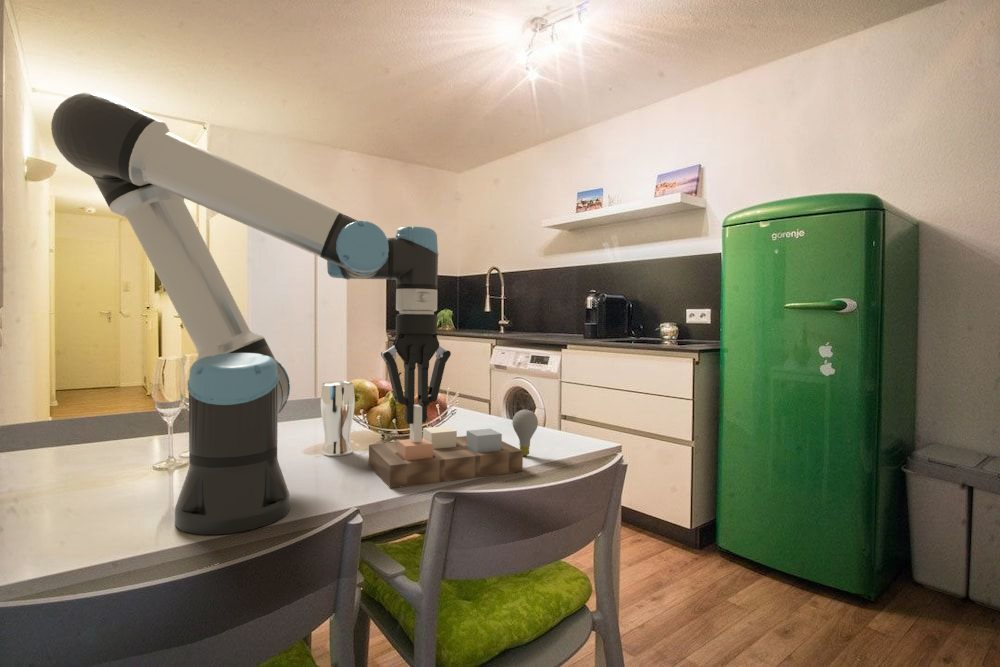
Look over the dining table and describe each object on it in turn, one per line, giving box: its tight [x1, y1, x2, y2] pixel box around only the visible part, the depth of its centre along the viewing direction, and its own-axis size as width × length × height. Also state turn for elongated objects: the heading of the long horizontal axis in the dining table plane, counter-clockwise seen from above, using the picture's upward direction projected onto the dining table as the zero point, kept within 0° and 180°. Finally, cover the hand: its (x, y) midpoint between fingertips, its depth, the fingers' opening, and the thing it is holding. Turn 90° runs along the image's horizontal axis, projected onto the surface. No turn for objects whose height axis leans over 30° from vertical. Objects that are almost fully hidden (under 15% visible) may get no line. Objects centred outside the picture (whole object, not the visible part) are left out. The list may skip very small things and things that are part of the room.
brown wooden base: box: [368, 435, 524, 489], centre depth 106 cm, size 26×16×4 cm, turn 116°
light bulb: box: [511, 409, 539, 457], centre depth 116 cm, size 6×5×10 cm
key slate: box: [466, 428, 503, 453], centre depth 106 cm, size 5×5×5 cm
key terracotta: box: [397, 437, 433, 461], centre depth 100 cm, size 5×5×5 cm
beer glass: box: [320, 381, 356, 457], centre depth 116 cm, size 7×7×15 cm
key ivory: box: [422, 425, 458, 449], centre depth 109 cm, size 5×5×5 cm
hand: (415, 440), depth 100 cm, fingers closed
